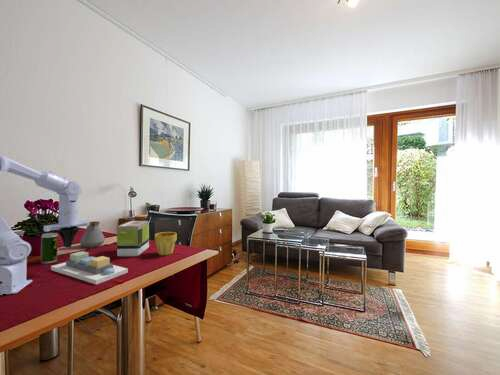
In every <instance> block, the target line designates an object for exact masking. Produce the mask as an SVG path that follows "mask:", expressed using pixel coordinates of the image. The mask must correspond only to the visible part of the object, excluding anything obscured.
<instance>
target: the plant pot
mask: <svg viewBox="0 0 500 375" xmlns="http://www.w3.org/2000/svg"><path fill="white" fill-rule="evenodd" d="M177 239H178V236H177V232H174V231H164V232H158V233H155V234H154V242H155V243H156V244H155V245H156V248H157V252H158V255H159V256H168V255H172V254H173V252H174V248H175V244H176V242H177Z"/></svg>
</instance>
